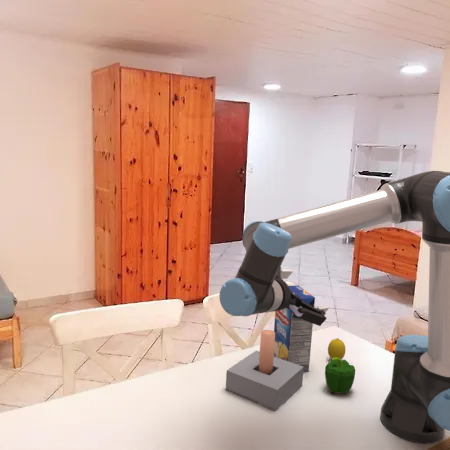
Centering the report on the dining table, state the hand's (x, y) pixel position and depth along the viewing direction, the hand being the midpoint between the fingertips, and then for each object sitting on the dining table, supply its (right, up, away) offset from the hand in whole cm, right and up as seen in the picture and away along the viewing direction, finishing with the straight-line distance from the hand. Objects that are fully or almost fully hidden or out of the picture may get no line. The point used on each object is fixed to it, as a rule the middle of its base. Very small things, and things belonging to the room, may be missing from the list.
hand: (306, 291), depth 119 cm
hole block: (-10, -29, +10) cm, 32 cm away
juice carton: (-1, -27, +25) cm, 37 cm away
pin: (-10, -28, +10) cm, 32 cm away
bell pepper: (+11, -30, +11) cm, 34 cm away
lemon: (+14, -27, +28) cm, 41 cm away
